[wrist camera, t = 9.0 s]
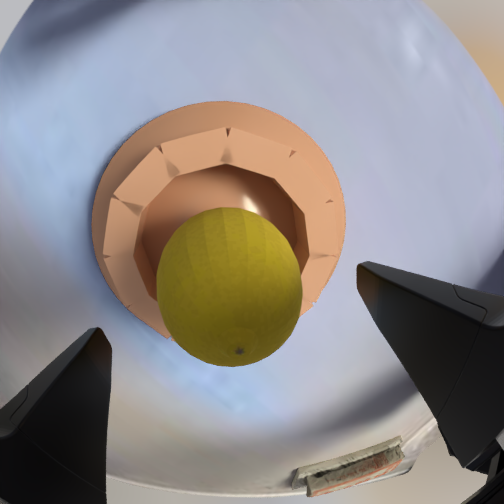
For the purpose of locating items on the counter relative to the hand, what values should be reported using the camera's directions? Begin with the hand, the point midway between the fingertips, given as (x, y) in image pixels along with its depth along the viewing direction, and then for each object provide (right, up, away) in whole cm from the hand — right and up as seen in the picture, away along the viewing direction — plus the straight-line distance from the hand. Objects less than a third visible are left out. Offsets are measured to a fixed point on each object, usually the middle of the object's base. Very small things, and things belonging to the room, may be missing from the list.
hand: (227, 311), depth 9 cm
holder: (-1, +3, +7) cm, 7 cm away
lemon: (-1, +3, +6) cm, 7 cm away
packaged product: (+16, -32, +26) cm, 44 cm away
